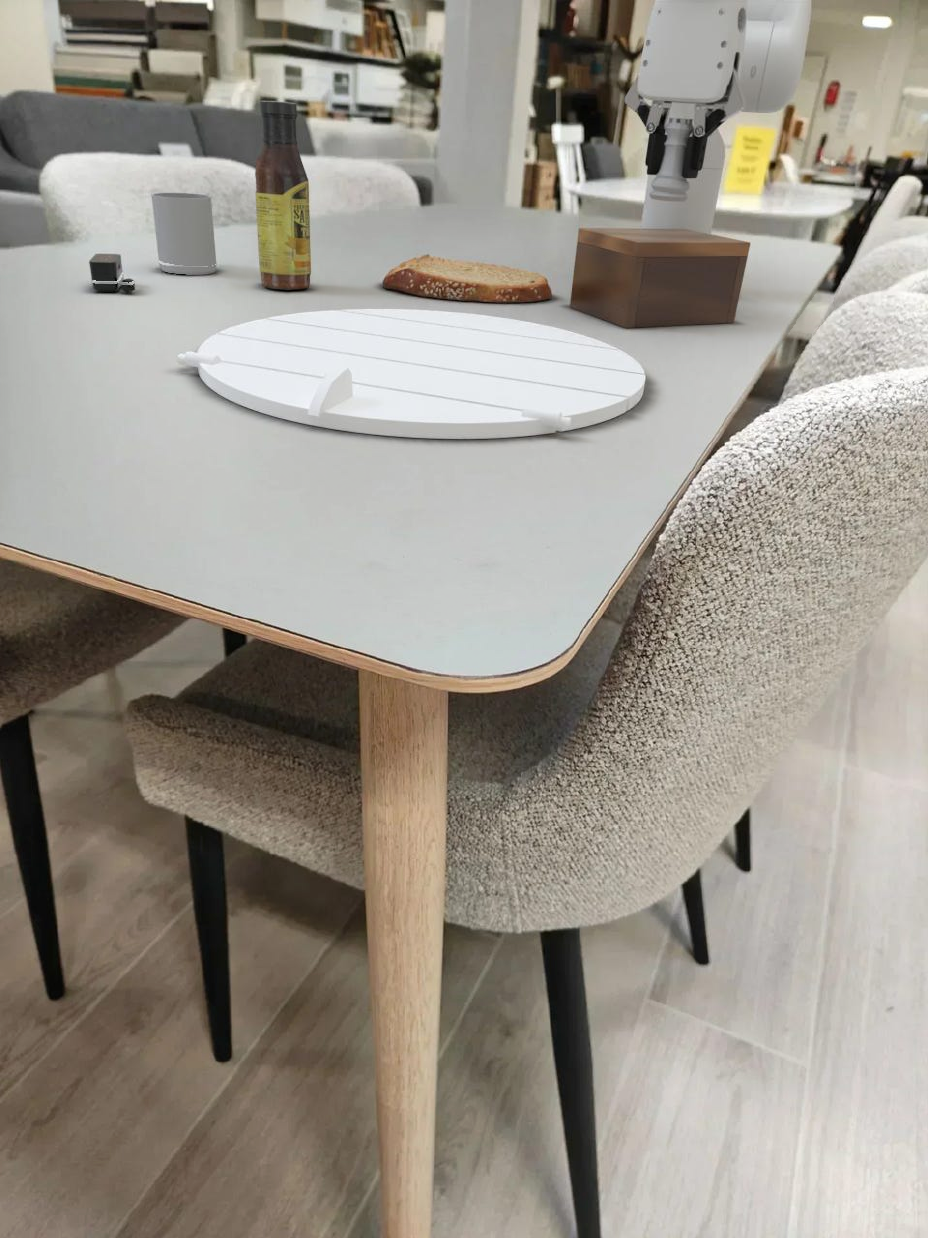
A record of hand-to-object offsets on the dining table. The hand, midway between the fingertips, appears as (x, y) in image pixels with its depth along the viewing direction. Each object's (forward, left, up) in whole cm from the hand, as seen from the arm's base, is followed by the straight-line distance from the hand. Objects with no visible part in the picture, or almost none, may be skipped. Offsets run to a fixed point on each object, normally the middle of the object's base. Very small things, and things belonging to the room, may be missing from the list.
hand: (671, 174), depth 96 cm
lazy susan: (+16, -37, -16) cm, 43 cm away
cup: (-38, -47, -16) cm, 62 cm away
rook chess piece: (0, 0, -3) cm, 3 cm away
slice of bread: (-18, -16, -16) cm, 29 cm away
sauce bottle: (-24, -38, -16) cm, 48 cm away
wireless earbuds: (-25, -58, -16) cm, 65 cm away
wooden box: (-1, +1, -15) cm, 16 cm away
